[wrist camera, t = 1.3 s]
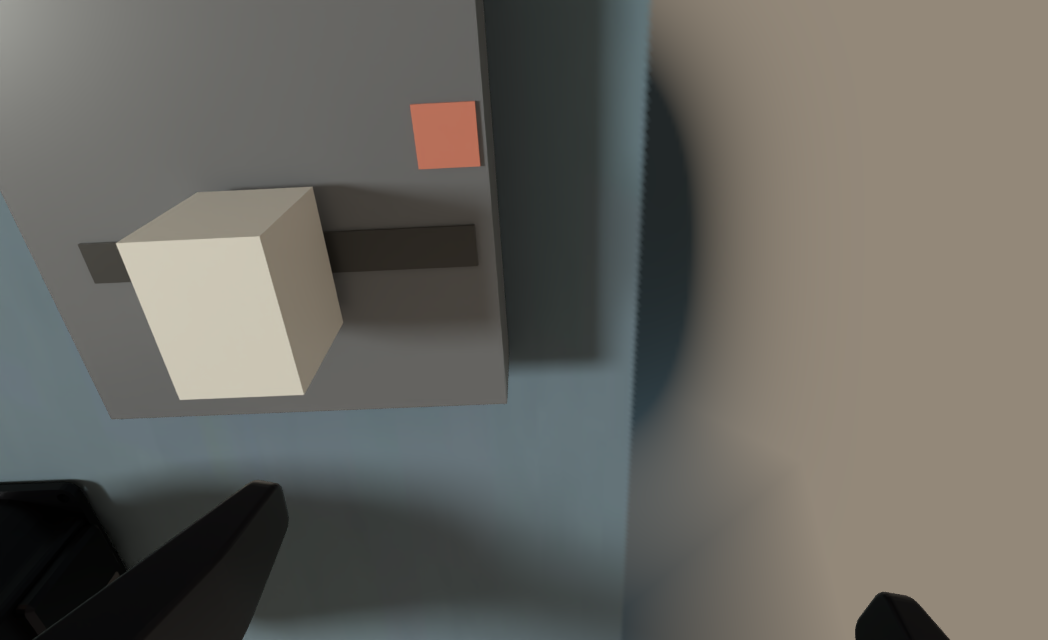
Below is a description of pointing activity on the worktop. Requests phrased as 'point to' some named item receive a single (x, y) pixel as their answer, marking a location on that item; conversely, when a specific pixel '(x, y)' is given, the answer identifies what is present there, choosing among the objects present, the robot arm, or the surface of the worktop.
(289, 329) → the cream matte cube
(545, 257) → the worktop surface
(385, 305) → the grey slider switch panel
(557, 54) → the worktop surface
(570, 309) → the worktop surface
